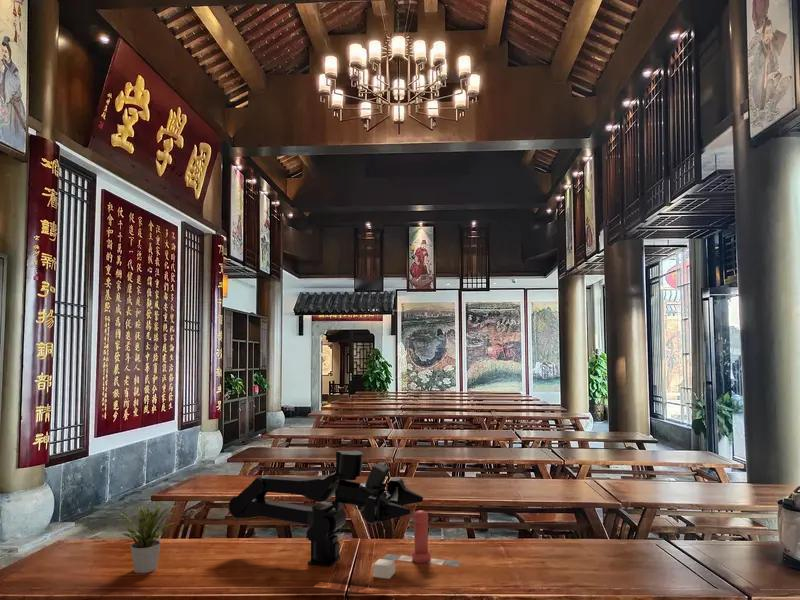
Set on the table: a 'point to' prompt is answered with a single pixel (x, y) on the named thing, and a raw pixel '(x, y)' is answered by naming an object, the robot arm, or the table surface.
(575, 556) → the table surface
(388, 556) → the track board
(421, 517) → the pawn
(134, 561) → the house plant
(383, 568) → the white cube
